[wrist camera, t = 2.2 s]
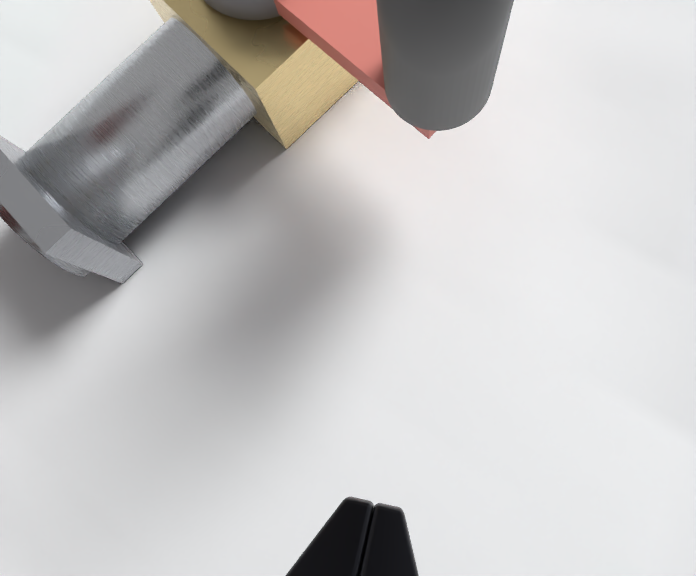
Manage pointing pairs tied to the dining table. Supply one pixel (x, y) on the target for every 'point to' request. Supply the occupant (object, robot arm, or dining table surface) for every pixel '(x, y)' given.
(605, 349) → the dining table surface
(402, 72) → the lever
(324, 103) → the valve body
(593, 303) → the dining table surface
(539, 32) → the dining table surface
